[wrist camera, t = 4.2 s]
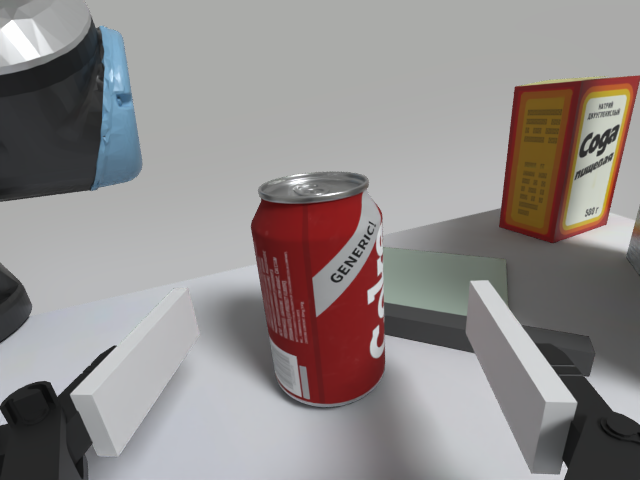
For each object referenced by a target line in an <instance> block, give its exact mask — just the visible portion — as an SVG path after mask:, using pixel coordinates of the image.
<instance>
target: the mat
mask: <svg viewBox="0 0 640 480" xmlns="http://www.w3.org/2000/svg"><path fill="white" fill-rule="evenodd" d="M481 280H488V281H489V282H490V283H491V285H492V286H493V287H494V289H495V290H496V292H497V293H498V294H499V296H500V297H501V298H502V300H503V301H504V303H505V304H506V305H507V307H508V295H507V272H506V259H500V258H490V257H480V256H469V255H459V254H449V253H439V252H429V251H418V250H408V249H398V248H388V247H383V283H384V302H386V303H392V304H398V305H404V306H410V307H416V308H422V309H428V310H434V311H440V312H446V313H452V314H458V315H464V316H467V310H468V298H469V286H470V281H481Z"/></svg>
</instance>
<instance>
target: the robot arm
mask: <svg viewBox="0 0 640 480" xmlns="http://www.w3.org/2000/svg"><path fill="white" fill-rule="evenodd" d="M132 100H133V99H132V93H131V87H130V80H129V74H128V67H127V61H126V54H125V48H124V42H123V37H122V35H121V34H120V33H119V32H118V31H116V30H111V29H108V28H107V27H104V26H100V27H98V28H95V25H94V23H93V20H92V17H91V15H90V11H89V9H88V7H87V5H86V3H85V1H84V0H0V202H2V201H10V200H17V199H25V198H33V197H40V196H48V195H56V194H64V193H72V192H79V191H87V190H90V191H91V190H92V191H93V190H97V189H98V188H99V187H104V186H109V185H114V184H119V183H124V182H128V181H131V180H133V179H134V178H135V177H137V176H138V174H139V173H140V171H141V168H142V157H141V151H140V144H139V137H138V131H137V125H136V119H135V112H134V106H133V101H132ZM31 310H32V304H31V302H30V299H29V297H28V295H27V293H26V291H25V288H24V286H23V285H22V283H21V282H20V281H19V280H18V279H17V278H16V277H15V276H14V275H13V274H12V273H11V272H9V271H8V270H7V269H6V268H5V267H4V266H3V265H2V264H1V263H0V341H2V340H3V339H5V338H6V337H7V336H9V335H10V334H11V333H13V332H14V331H15V330H16V329H17V328H18V327H19V326H20V325H22V323H23V322H24V321H25V320H26V319H27V318H28V316H29V315H30V313H31ZM466 335H467V337H468V339H469V341H470V343H471V345H472V348H473V350H474V352H475V354H476V356H477V358H478V360H479V362H480V365H481V367H482V369H483V371H484V373H485V375H486V377H487V380H488V382H489V384H490V386H491V388H492V390H493V392H494V395H495V397H496V399H497V401H498V403H499V405H500V407H501V410H502V412H503V414H504V416H505V418H506V420H507V422H508V424H509V427H510V429H511V431H512V433H513V435H514V437H515V439H516V442H517V444H518V446H519V448H520V450H521V452H522V454H523V457H524V459H525V461H526V463H527V465H528V467H529V469H530V471H531V473H536V474H560V471H561V467H562V463H563V461H564V462H565V464H566V466H567V468H568V470H567V473H566V476H565V478H564V480H640V425H639V424H638V423H637V422H635V421H634V420H632V419H630V418H628V417H626V416H624V415H622V414H619V413H616V412H613V411H612V410H611V408H610V407H609V406H608V405H607V404H606V402H605V401H604V400H603V399H602V397H601V396H600V395H599V394H598V393H597V391H596V390H595V389H594V388H593V387H592V385H591V384H590V383H589V382H588V380H587V379H586V378H585V377H584V376H582V373H581V372H580V371H579V370H578V368H577V367H575V366H574V363H573V362H572V361H571V360H570V359H569V357H568V356H567V355H566V354H565V353H564V352H563V351H561V350H560V349H558V348H557V347H555V346H554V345H552V344H551V343H534V342H533V341H532V340H531V338H530V337H529V335H528V334H527V333H526V331H525V330H524V329H523V327H522V326H521V324H520V323H519V322H518V320H517V319H516V318H515V316H514V315H513V313H512V312H511V311H510V309H509V308H508V307H507V305H506V304H505V303H504V301H503V300H502V298H501V297H500V296H499V294H498V293H497V292H496V290H495V289H494V287H493V286H492V285H491V283H490V282H489V281H488V280H481V281H470V286H469V298H468V310H467V322H466ZM199 336H200V332H199V328H198V324H197V320H196V316H195V312H194V308H193V304H192V300H191V296H190V292H189V288H173V289H172V290H171V291H170V292H169V293H168V294H167V296H166V297H165V298H164V299H163V300H162V301H161V302H160V303H159V304H158V305H157V306H156V307H155V308H154V309H153V310H152V311H151V312H150V313H149V314H148V315H147V316H146V317H145V318H144V319H143V320H142V321H141V322H140V323H139V324H138V325H137V326H136V327H135V328H134V329H133V330H132V331H131V332H130V333H129V334H128V335H127V336H126V337H125V338H124V339H123V341H122V342H121V343H120V344H119V345H118V346H113V347H111V348H109V349H108V350H106V351H105V352H103V353H102V354H100V355H99V356H98V357H97V358H96V359H95V360H94V361H93V362H92V363H91V366H88V367H87V368H86V369H85V370H84V371H83V374H80V375H79V376H78V377H77V378H76V379H75V380H74V381H73V382H72V383H71V384H70V385H69V386H68V387H67V388H66V389H65V390H64V391H63V392H62V393H61V394H60V395H59V396H58V397H57V395H56V393H55V391H54V389H53V387H52V385H51V383H50V382H47V381H40V382H35V383H32V384H28V385H26V386H24V387H22V388H20V389H18V390H17V391H15V392H14V393H12V394H11V395H9V396H8V397H7V398H6V399H5V400H4V401H3V402H2V404H1V406H0V410H1V412H2V414H3V415H4V417H5V419H6V421H7V422H8V424H5V425H1V426H0V480H88V463H87V459H86V457H85V455H84V454H85V452H86V451H87V450H88V448H89V447H90V446H91V444H92V445H93V447H94V449H95V451H96V454H97V456H105V457H119V455H120V454H121V452H122V451H123V449H124V448H125V446H126V445H127V443H128V442H129V440H130V439H131V437H132V436H133V434H134V433H135V431H136V430H137V428H138V427H139V425H140V424H141V422H142V421H143V419H144V418H145V416H146V415H147V413H148V412H149V410H150V409H151V407H152V406H153V405H154V403H155V402H156V400H157V399H158V397H159V396H160V394H161V393H162V391H163V390H164V388H165V387H166V385H167V384H168V382H169V381H170V379H171V378H172V376H173V375H174V373H175V372H176V370H177V369H178V367H179V366H180V364H181V363H182V361H183V360H184V358H185V357H186V355H187V354H188V352H189V351H190V349H191V348H192V346H193V345H194V343H195V342H196V340H197V339H198V337H199Z"/></svg>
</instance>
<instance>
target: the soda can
mask: <svg viewBox="0 0 640 480" xmlns="http://www.w3.org/2000/svg"><path fill="white" fill-rule="evenodd" d="M368 185H369V181H368V178H367V177H366V176H363V175H361V174H357V173H350V172H315V173H305V174H298V175H292V176H286V177H282V178H279V179H275V180H271V181H269V182H267V183H264V184H262V185H261V186H260V187H259V189H258V192H259V196H260V197H261V203H260V205H259V207H258V209H257V212H256V214H255V216H254V218H253V220H252V223H251V230H252V236H253V242H254V248H255V255H256V261H257V267H258V273H259V279H260V285H261V291H262V297H263V303H264V309H265V315H266V321H267V327H268V333H269V339H270V345H271V351H272V357H273V363H274V369H275V375H276V379H277V381H278V383H279V385H280V387H281V388H282V389H283V390H284V392H285V393H287V394H288V395H289V396H290V397H292V398H293V399H295V400H297V401H299V402H302V403H305V404H308V405H312V406H318V407H335V406H341V405H346V404H349V403H352V402H355V401H357V400H359V399H361V398H363V397H364V396H366V395H367V394H369V393H370V392H371V391H372V390H373V389H374V388H375V387H376V386H377V385H378V384H379V382H380V380H381V379H382V376H383V374H384V370H385V337H384V283H383V233H382V232H383V231H382V230H383V229H382V213H381V210H380V209H379V207H378V206H377V204H376V203H375V202H374V201H373V199H372V198H371V196H370V195H369V194H368V192H367V188H368Z"/></svg>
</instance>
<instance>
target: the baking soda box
mask: <svg viewBox="0 0 640 480" xmlns="http://www.w3.org/2000/svg"><path fill="white" fill-rule="evenodd" d="M604 77H605V76H604ZM595 78H601V77H587V78H572V79H556V80H546V81H541V82H536V83H531V84H526V85H521V86H516V87H515V91H514V99H513V108H512V117H511V126H510V135H509V144H508V153H507V162H506V171H505V180H504V189H503V198H502V206H501V215H500V224H499V227H501V228H505V229H508V230H511V231H514V232H518V233H521V234H524V235H527V236H531V237H534V238H537V239H541V240H544V241H547V242H550V243H555V242H558V241H561V240H564V239H567V238H569V237H572V236H575V235H578V234H581V233H584V232H586V231H589V230H592V229H595V228H598V227H601V226H603V225H606V224H607V220H608V216H609V211H610V207H611V203H612V198H613V194H614V190H615V185H616V181H617V177H618V172H619V168H620V163H621V159H622V155H623V151H624V146H625V142H626V138H627V133H628V129H629V125H630V121H631V116H632V112H633V108H634V103H635V99H636V94H637V90H638V86H639V81H640V76H627V77H615V78H601V79H595Z"/></svg>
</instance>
